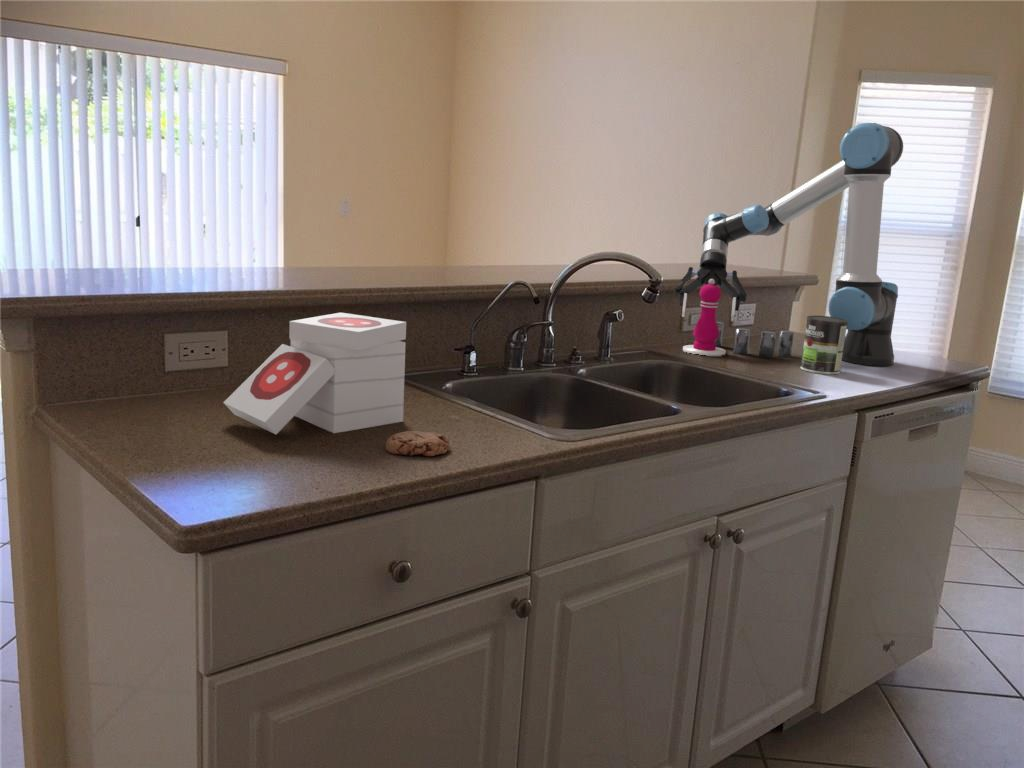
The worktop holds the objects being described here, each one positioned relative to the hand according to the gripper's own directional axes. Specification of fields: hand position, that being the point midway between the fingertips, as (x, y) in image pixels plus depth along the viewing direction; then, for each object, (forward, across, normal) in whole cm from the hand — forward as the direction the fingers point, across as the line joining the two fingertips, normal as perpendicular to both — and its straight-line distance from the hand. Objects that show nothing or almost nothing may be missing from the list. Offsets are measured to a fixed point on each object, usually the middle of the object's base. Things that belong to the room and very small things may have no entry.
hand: (707, 316), depth 251 cm
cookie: (+92, +45, +76) cm, 128 cm away
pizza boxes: (+86, +67, +70) cm, 129 cm away
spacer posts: (-1, -13, -16) cm, 21 cm away
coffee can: (+14, -31, -2) cm, 34 cm away
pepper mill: (+5, 0, -9) cm, 10 cm away
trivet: (+6, 0, -9) cm, 11 cm away
